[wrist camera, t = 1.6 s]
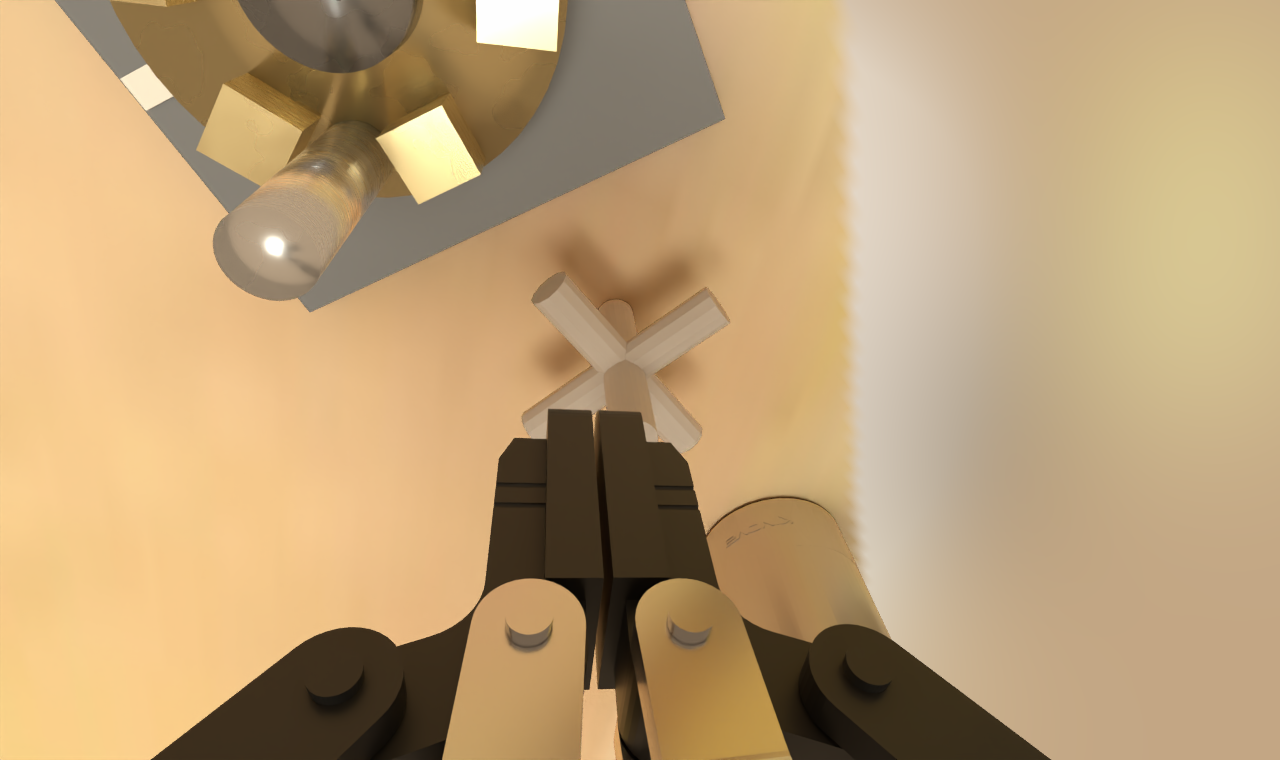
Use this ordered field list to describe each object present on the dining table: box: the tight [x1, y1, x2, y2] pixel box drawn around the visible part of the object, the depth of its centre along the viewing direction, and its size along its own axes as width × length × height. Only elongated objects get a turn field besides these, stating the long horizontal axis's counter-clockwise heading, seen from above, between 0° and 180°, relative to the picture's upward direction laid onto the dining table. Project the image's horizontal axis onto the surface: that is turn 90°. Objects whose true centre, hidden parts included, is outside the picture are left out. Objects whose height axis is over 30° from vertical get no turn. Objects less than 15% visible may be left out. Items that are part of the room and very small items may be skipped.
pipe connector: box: [522, 272, 730, 453], centre depth 30 cm, size 10×10×10 cm
